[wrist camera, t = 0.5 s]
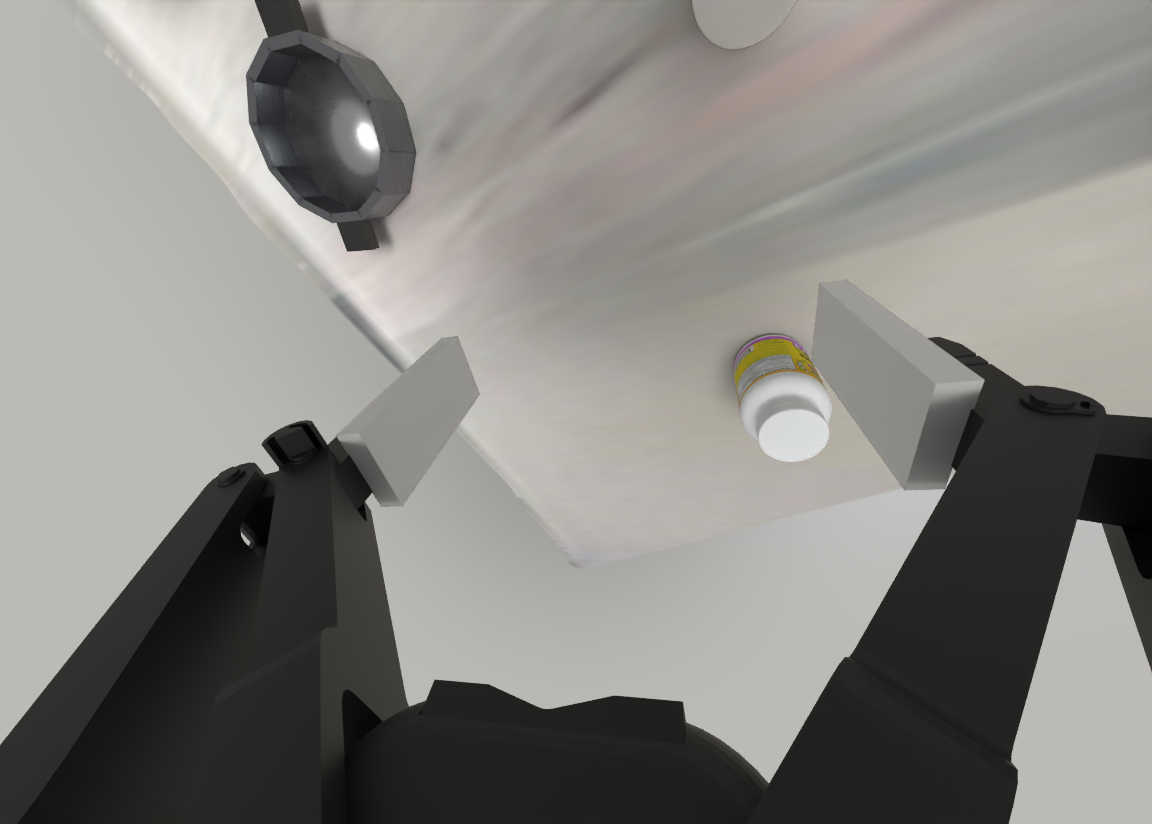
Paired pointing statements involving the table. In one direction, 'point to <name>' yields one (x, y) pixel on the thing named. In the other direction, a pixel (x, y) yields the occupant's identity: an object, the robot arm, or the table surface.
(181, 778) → the robot arm
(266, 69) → the cooker pot
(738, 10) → the cylindrical container
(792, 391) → the supplement bottle
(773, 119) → the table surface
